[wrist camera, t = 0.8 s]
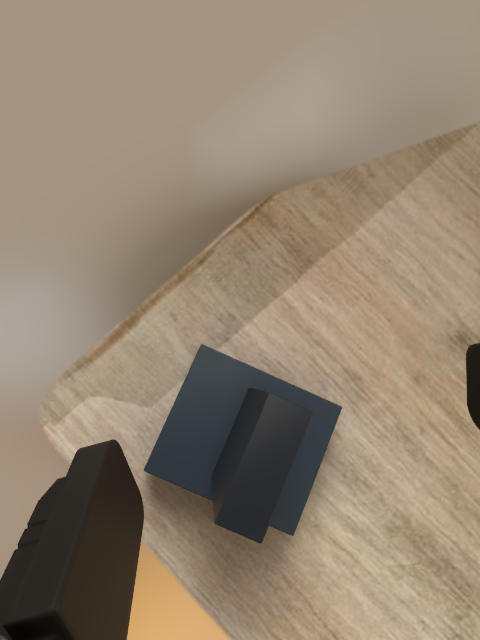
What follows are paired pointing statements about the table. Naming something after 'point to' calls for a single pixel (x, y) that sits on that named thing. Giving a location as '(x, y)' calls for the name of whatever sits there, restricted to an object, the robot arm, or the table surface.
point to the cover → (244, 443)
